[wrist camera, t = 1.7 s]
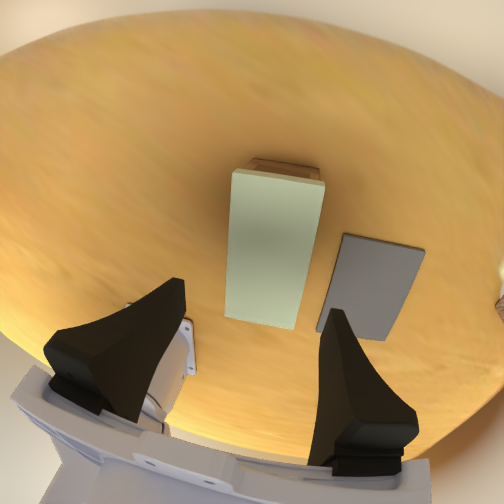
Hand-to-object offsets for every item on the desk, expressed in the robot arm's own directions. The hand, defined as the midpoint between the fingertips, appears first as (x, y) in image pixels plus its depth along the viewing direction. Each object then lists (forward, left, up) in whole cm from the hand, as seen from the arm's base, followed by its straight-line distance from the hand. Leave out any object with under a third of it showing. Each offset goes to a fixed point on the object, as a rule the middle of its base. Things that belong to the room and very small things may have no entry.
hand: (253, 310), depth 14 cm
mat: (-5, -8, -10) cm, 14 cm away
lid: (0, 0, -6) cm, 6 cm away
